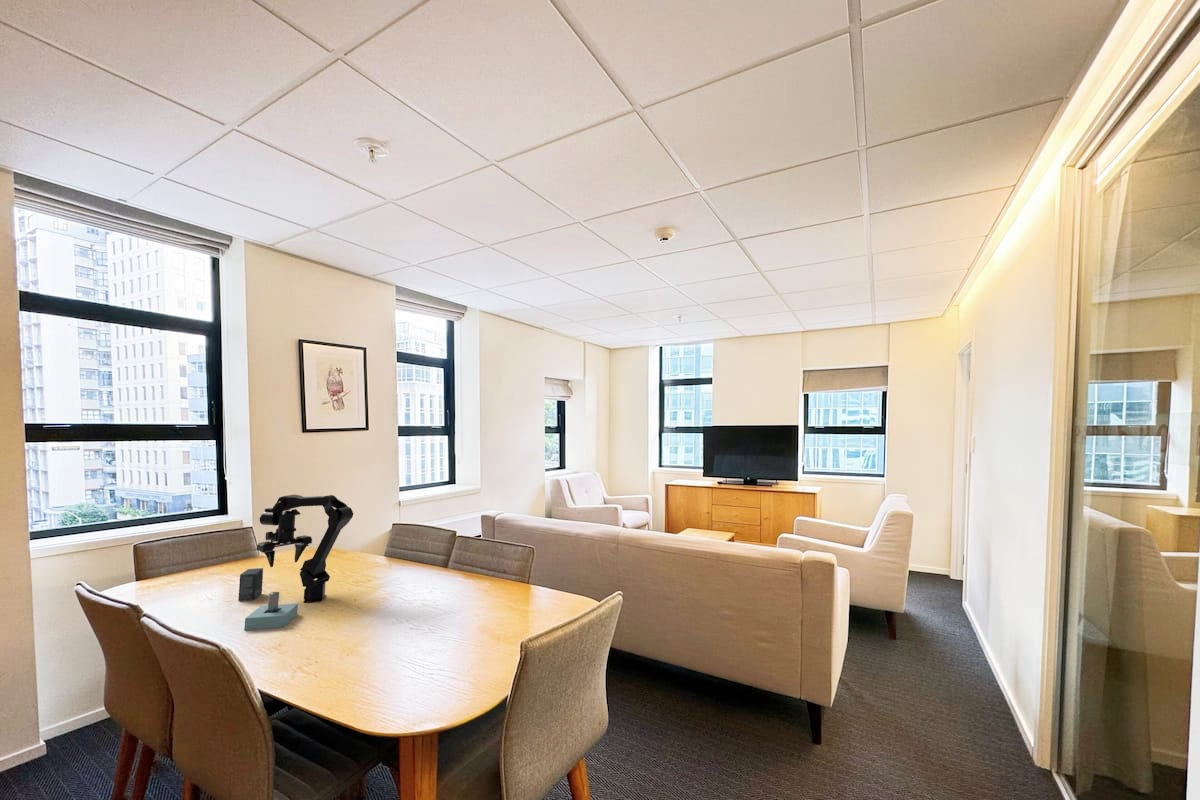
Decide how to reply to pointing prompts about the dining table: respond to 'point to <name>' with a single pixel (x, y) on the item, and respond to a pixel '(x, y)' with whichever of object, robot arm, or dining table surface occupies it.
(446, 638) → the dining table surface
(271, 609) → the peg
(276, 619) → the hole block
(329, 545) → the robot arm
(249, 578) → the box
